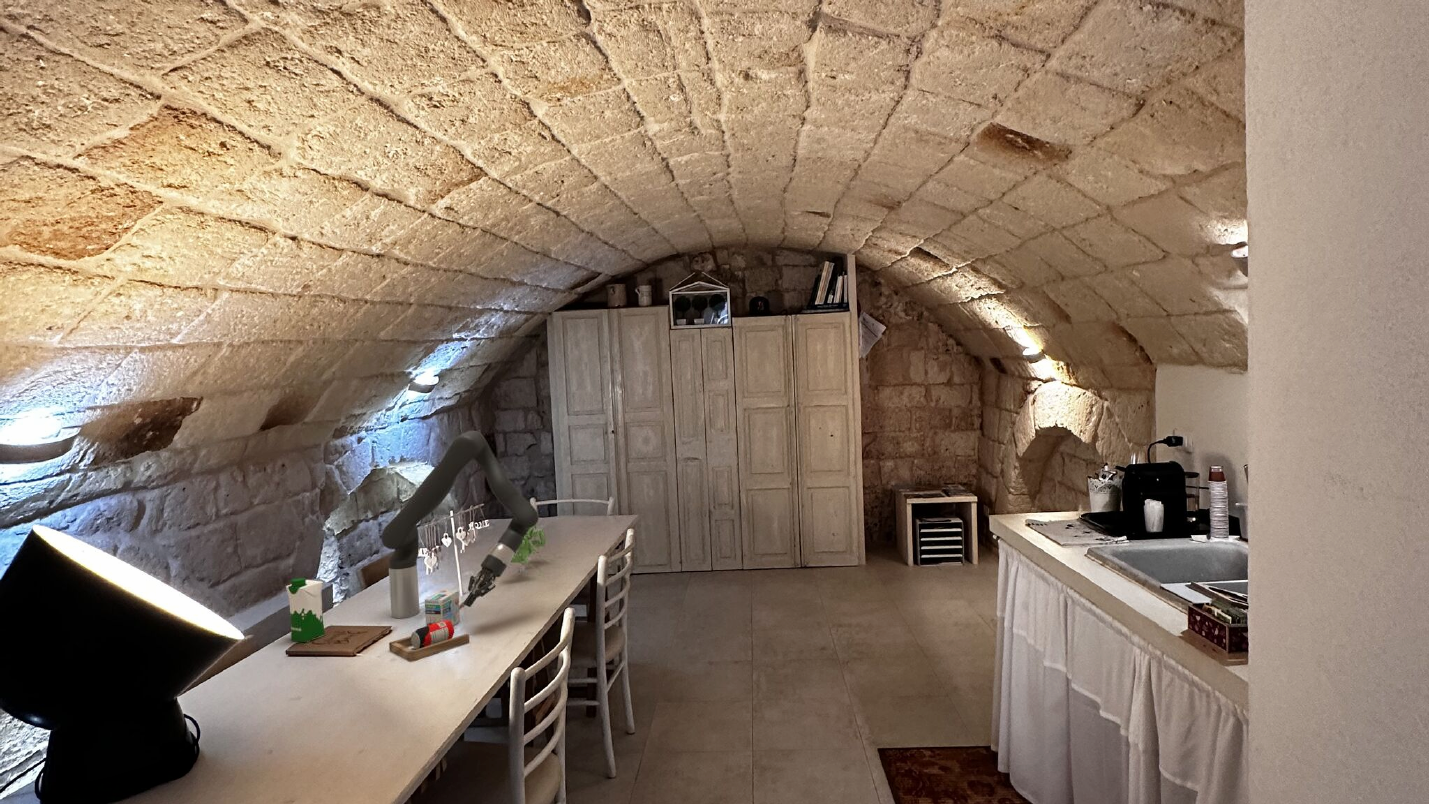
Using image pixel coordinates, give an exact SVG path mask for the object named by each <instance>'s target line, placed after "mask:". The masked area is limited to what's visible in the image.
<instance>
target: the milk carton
mask: <svg viewBox="0 0 1429 804" xmlns="http://www.w3.org/2000/svg"><path fill="white" fill-rule="evenodd" d="M323 585H324V582H323V581H318V580H312V579H306V577H296V578H293V579H291V584H289V585H285V588H286V593H287V596H288V601H289V602H288V603H289V614H290V615H289V616H290V641H292V642H293V641H294V642H297V643H303V642H307V641H309V640H312V639H313V638H317V637H319V636H321V635H324V634H325V635H326V633H325V625H324V617H323V601H322V591H323ZM317 639H318V638H317ZM312 641H313V640H312ZM307 643H308V642H307Z"/></svg>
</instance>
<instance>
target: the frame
mask: <svg viewBox="0 0 1429 804" xmlns="http://www.w3.org/2000/svg"><path fill="white" fill-rule="evenodd" d="M469 642H470V634H468V633H464V634H461V635H458V636H455V637H452V638H451V639H448V640H445V641H442V642H439V643H436V644H432V645H429V646H426V647H423V648H420V649H419V648H418V649H414V650H412V649H411V648H408V647H411V646H413V645H412V643H411V635H410V636H407V637H404V638H400V639H397V640H394V641H390V642H389V643H388V645H389V646H388V649H389V652H392V653H394V654H395V655H397V656H399V657H401V658H403V659H405V660H407V661H409V662H415V661H417V660H420V659H423V658H426V657H429V656H433V655H436V654H439V653H441V652H445V651H448V650H451V649H454V648H456V647H460V646H463V645H467V644H470V643H469Z"/></svg>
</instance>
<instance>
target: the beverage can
mask: <svg viewBox="0 0 1429 804" xmlns="http://www.w3.org/2000/svg"><path fill="white" fill-rule="evenodd" d="M454 626H455V625H454ZM454 626H453V624H452V623H451V622H450V621H448V620H444V621H441V622H438V623H434V624H431V625H428V626H426V625H425V626H422V627H420V628H417V629H415V631H414V632H412V633H411V635H410V636H411V643H412V646H413V648H414V650H417V649H420V648H423V647H426V646H429V645H432V644H436V643H439V642H442V641H445V640H448V639H451V638H454V635H455V627H454Z"/></svg>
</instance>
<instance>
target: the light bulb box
mask: <svg viewBox="0 0 1429 804" xmlns="http://www.w3.org/2000/svg"><path fill="white" fill-rule="evenodd" d="M459 593H460V591H459V590H445V589H444V590H443V589H441V590H439V591H437V592H435V593H434V594H431V595H430V596H428V597H427V598H425V599H424V612H425V614H424V615H425V626H428V625H431V624H434V623H438V622H441V621H444V620H448V621H450V622H451V623H452V624H453V626H455V625H457V624H459V623H460V622H461V615H460V613H461V612H460V611H461V610H460V594H459Z"/></svg>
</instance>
